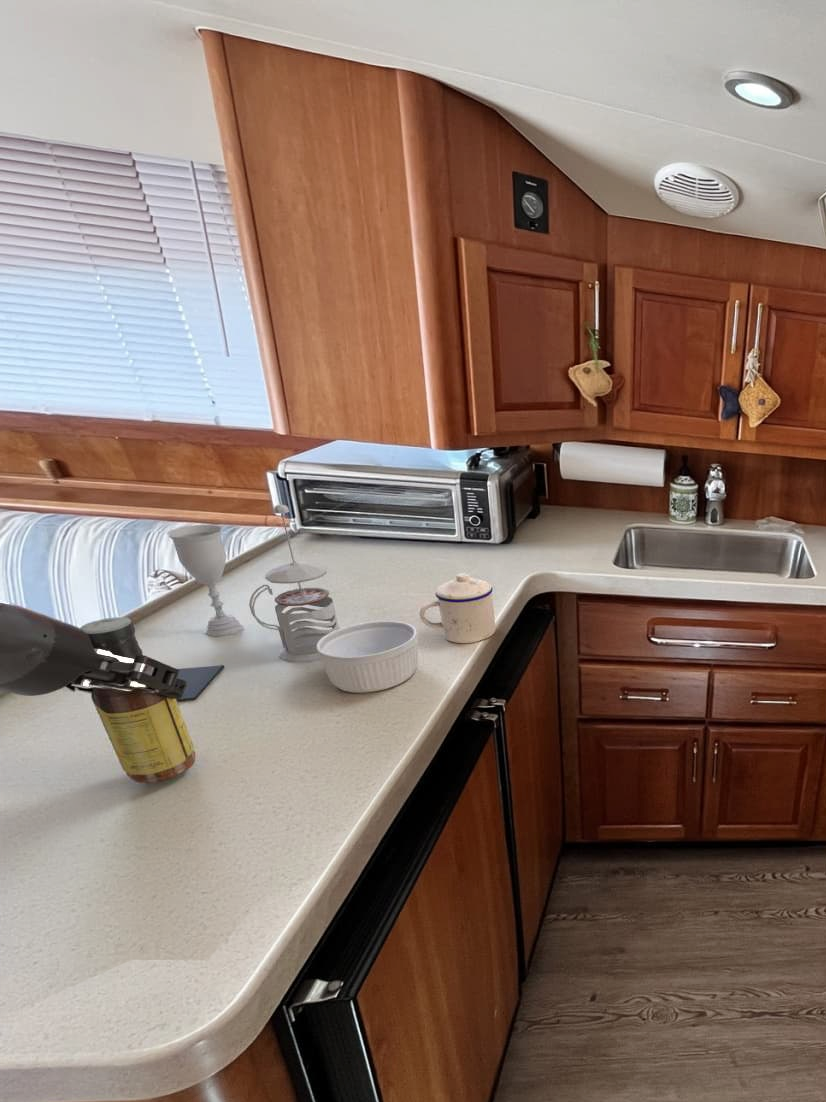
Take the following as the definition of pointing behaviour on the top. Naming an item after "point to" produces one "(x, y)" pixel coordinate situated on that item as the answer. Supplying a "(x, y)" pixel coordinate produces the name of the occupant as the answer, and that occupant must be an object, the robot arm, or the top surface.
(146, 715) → the sauce bottle
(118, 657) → the robot arm
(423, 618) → the teacup with lid
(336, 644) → the ramekin
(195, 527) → the chalice
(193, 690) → the mat
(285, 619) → the french press
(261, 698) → the top surface
